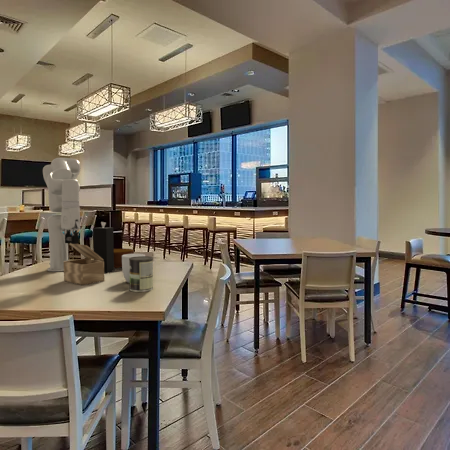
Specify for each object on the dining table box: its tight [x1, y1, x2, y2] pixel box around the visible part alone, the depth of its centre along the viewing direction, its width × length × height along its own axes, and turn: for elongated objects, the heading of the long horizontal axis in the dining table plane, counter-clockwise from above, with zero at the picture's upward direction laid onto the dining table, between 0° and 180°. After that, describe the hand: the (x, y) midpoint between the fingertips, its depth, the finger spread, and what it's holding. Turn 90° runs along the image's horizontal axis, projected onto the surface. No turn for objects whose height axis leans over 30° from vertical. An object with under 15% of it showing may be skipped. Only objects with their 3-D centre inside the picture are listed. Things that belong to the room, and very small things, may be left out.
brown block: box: [114, 248, 135, 269], centre depth 215 cm, size 18×18×10 cm
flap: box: [66, 237, 104, 261], centre depth 174 cm, size 15×18×2 cm
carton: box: [63, 258, 105, 286], centre depth 176 cm, size 16×12×10 cm
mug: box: [121, 253, 146, 284], centre depth 175 cm, size 15×11×13 cm
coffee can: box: [129, 255, 154, 293], centre depth 158 cm, size 10×10×14 cm
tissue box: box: [92, 221, 115, 274], centre depth 199 cm, size 8×8×28 cm
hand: (71, 243), depth 170 cm, fingers closed on flap, 5 cm apart
